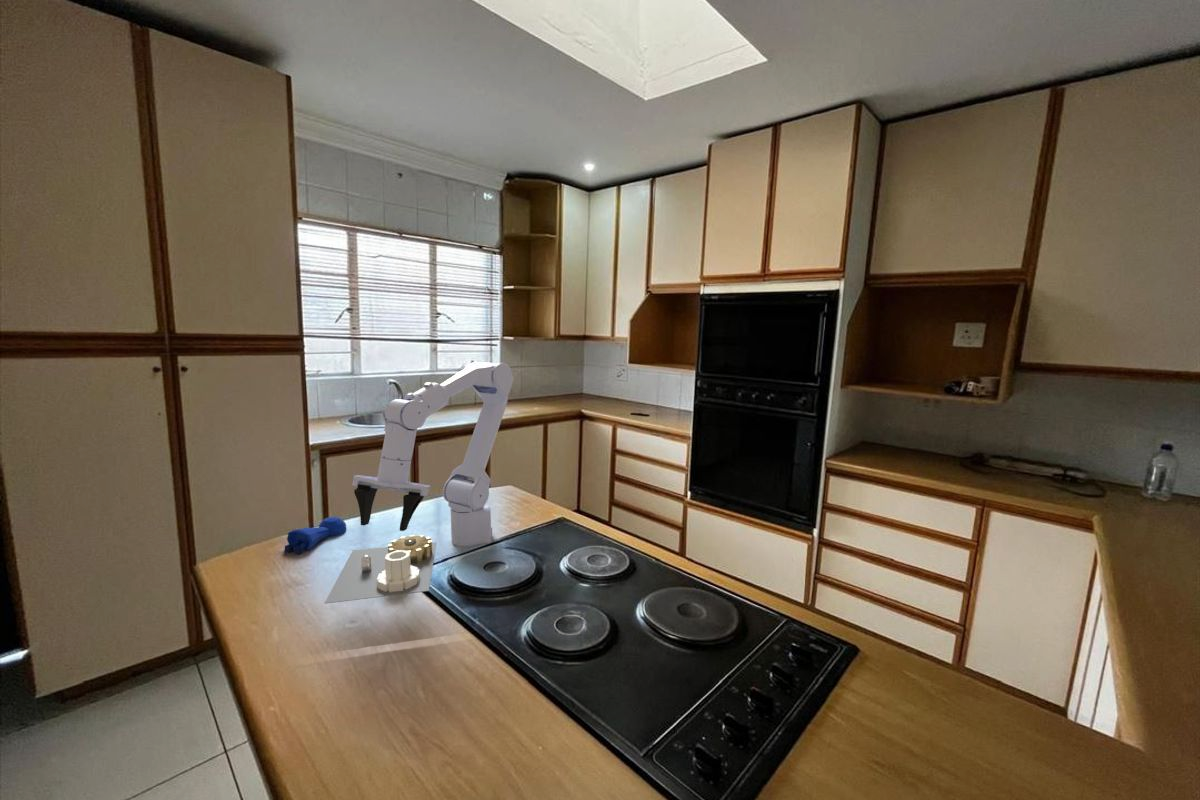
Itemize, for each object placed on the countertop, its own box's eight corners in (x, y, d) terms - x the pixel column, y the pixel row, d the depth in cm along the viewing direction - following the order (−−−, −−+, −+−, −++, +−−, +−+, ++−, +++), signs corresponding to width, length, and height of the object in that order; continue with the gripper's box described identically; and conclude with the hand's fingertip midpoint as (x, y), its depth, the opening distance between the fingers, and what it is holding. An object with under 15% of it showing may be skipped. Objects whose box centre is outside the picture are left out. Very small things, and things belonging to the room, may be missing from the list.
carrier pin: (372, 568, 101) (371, 553, 100) (370, 572, 99) (369, 557, 99) (362, 569, 100) (362, 554, 100) (361, 573, 99) (360, 558, 98)
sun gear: (433, 545, 112) (433, 530, 112) (430, 563, 103) (430, 547, 103) (392, 549, 110) (391, 534, 109) (385, 567, 101) (384, 551, 101)
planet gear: (421, 570, 100) (420, 545, 100) (417, 588, 93) (416, 562, 92) (381, 574, 99) (380, 548, 98) (374, 593, 91) (372, 566, 90)
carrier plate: (436, 545, 114) (436, 542, 114) (428, 594, 93) (428, 590, 93) (352, 553, 109) (352, 550, 109) (324, 607, 88) (324, 603, 88)
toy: (305, 562, 107) (354, 532, 121) (302, 535, 105) (351, 509, 120) (280, 558, 108) (331, 529, 122) (276, 532, 107) (328, 506, 121)
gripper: (350, 454, 92) (336, 525, 91) (425, 465, 93) (413, 536, 92) (367, 453, 100) (354, 519, 98) (437, 463, 100) (425, 529, 99)
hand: (383, 527), depth 95 cm, fingers open, 7 cm apart
